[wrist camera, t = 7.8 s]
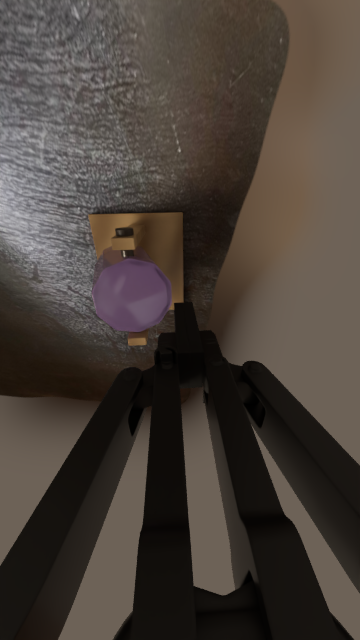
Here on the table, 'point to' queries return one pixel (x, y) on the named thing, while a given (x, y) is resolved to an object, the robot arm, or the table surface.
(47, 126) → the table surface
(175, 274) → the swivel stand
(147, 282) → the cup
